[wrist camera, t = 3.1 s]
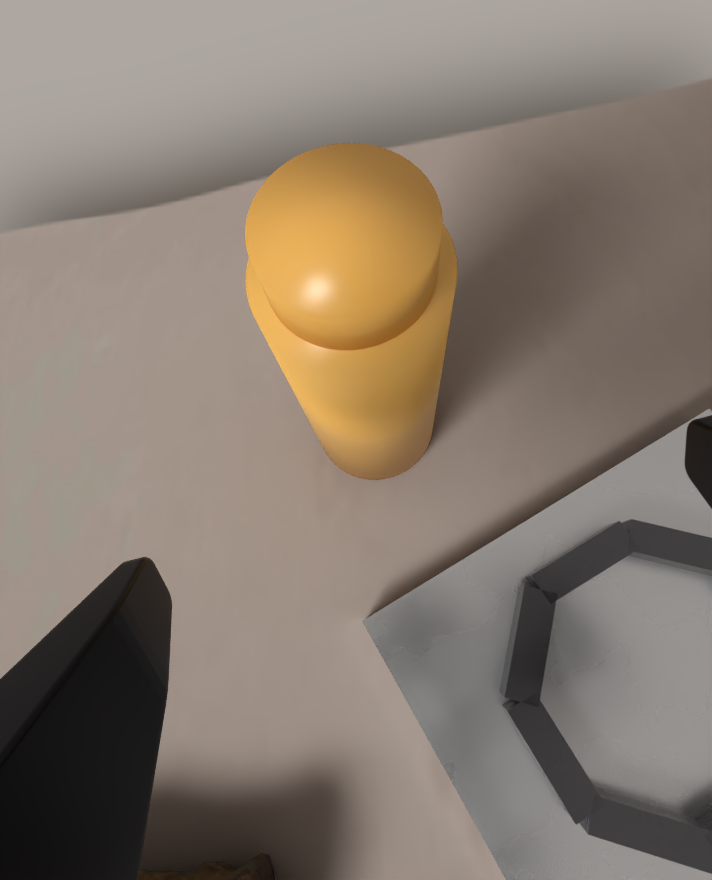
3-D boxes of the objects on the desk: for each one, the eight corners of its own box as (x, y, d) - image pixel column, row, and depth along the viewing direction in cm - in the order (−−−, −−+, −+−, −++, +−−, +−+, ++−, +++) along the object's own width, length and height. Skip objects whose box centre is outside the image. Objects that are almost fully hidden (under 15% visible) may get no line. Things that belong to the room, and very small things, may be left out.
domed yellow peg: (354, 501, 21) (294, 380, 9) (298, 406, 22) (184, 197, 11) (455, 441, 21) (515, 253, 10) (394, 351, 23) (383, 90, 11)
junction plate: (573, 993, 16) (598, 1051, 14) (364, 619, 20) (360, 621, 18) (952, 733, 17) (1028, 752, 15) (692, 419, 21) (724, 398, 19)
